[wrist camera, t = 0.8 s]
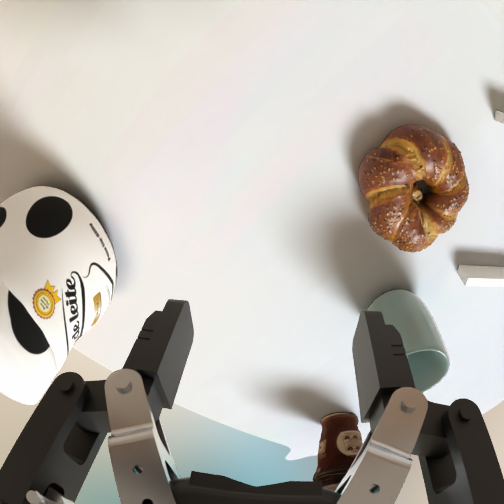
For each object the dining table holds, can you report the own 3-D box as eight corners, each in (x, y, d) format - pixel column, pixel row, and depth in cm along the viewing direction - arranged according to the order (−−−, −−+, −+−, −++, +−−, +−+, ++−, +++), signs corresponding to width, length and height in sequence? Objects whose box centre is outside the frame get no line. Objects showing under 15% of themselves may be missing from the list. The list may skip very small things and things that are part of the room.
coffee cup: (343, 402, 44) (347, 477, 33) (374, 415, 46) (381, 483, 35) (304, 422, 48) (302, 491, 37) (337, 434, 50) (338, 497, 39)
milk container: (149, 297, 36) (85, 427, 21) (53, 302, 40) (-11, 394, 24) (94, 157, 28) (-44, 253, 12) (1, 195, 31) (-96, 273, 16)
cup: (405, 266, 30) (436, 335, 22) (432, 308, 33) (458, 373, 24) (345, 303, 34) (357, 377, 25) (377, 339, 36) (391, 407, 28)
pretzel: (453, 238, 28) (467, 258, 25) (356, 246, 30) (363, 268, 27) (463, 123, 22) (484, 133, 19) (352, 122, 24) (362, 130, 21)
